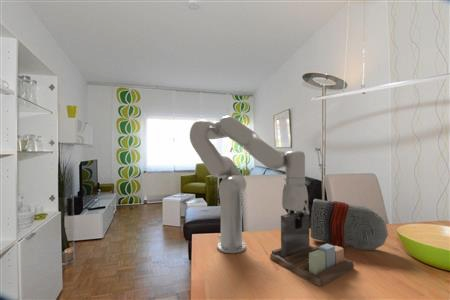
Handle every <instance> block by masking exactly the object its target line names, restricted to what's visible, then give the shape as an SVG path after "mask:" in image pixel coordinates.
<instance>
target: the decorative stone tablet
mask: <svg viewBox="0 0 450 300" xmlns="http://www.w3.org/2000/svg"><path fill="white" fill-rule="evenodd" d="M310 215H311V217H310V238H311V239H312V240H317V241H320V242H325V243H328V244H330V245H333V246H339V247H341V248H344V247H351V248H353V249H355V250H358V251H359V250H360V251H374V250H376V249H378V248H380V247H383V246H384V245H385V244H386V240H387V238H388V236H389V232H388V227H387V223H386V222H385V220H384V218H383V217H382V216H381V215H380V214H379V213H377V212H376V211H375V210H374V209H372V208H369V207H365V206H362V205H355V204H349V203H346V202H341V201H335V200H334V201H329V200H325V199H324V200H323V199H318V198H314V199H313V202H312V207H311V214H310Z"/></svg>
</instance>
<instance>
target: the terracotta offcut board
mask: <svg viewBox="0 0 450 300" xmlns="http://www.w3.org/2000/svg"><path fill="white" fill-rule="evenodd" d="M344 250H345V249H344V247H339V246H335V265H337V264H340V263H342V262H344V259H345V254H344V253H345V251H344Z"/></svg>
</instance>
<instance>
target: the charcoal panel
mask: <svg viewBox="0 0 450 300" xmlns="http://www.w3.org/2000/svg"><path fill="white" fill-rule="evenodd" d="M303 212H304V210H303ZM295 219H297V216H296V211H295V213H291V214H288V213H286V214H283V215H282V214H281V215H280V248H281V257H282V258H284V259H285V258H286V257H288V256H291V255H294V254H297V253H299V252H302V251H305V250H308V249H310V245H311V244H310V214H308V215H305V216H304V217H303V218H302V228H299V229H296V226H295Z"/></svg>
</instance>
